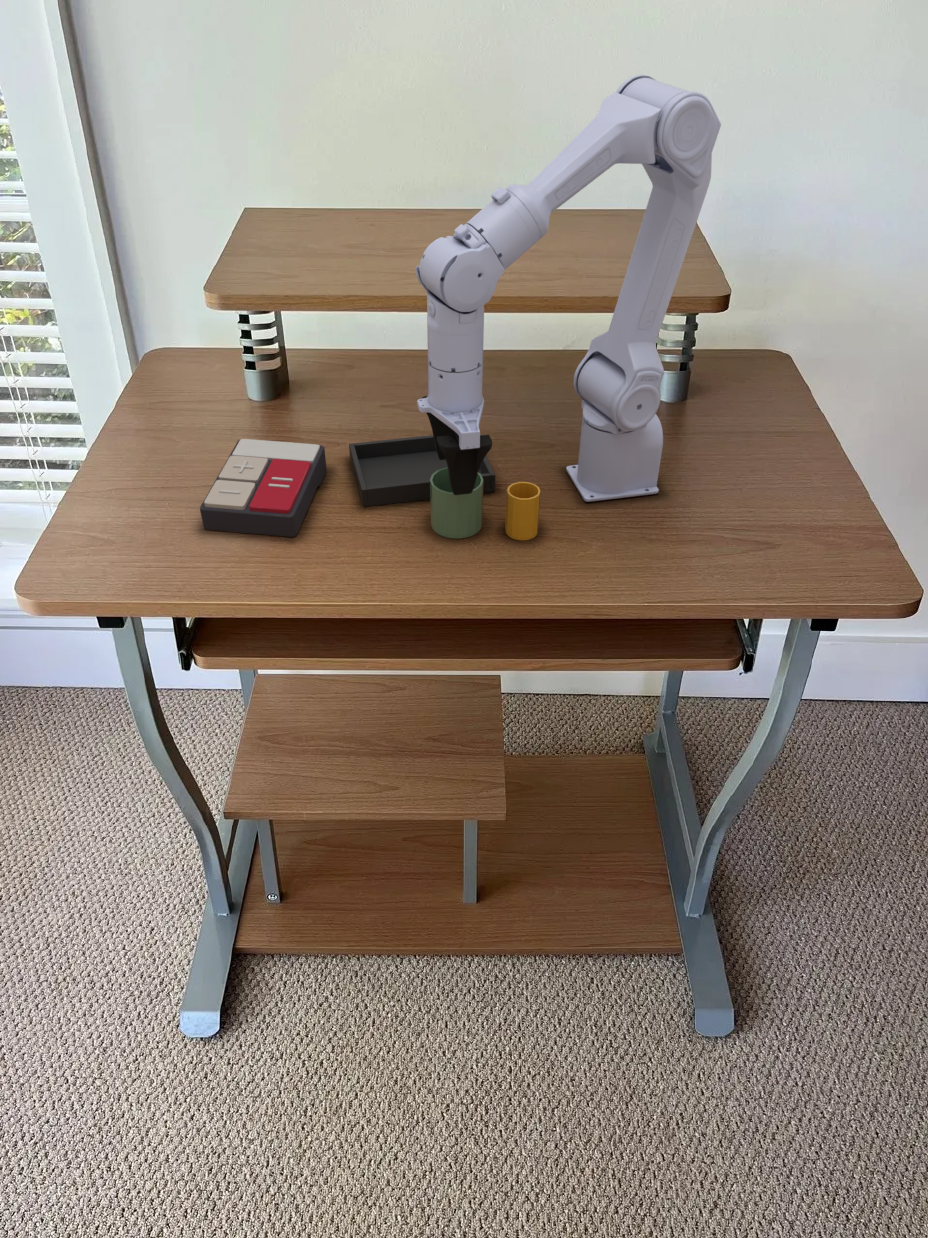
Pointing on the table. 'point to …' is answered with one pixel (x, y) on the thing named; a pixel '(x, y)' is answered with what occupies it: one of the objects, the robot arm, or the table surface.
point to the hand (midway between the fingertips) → (454, 474)
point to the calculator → (264, 488)
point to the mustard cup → (522, 510)
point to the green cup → (455, 507)
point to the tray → (401, 470)
